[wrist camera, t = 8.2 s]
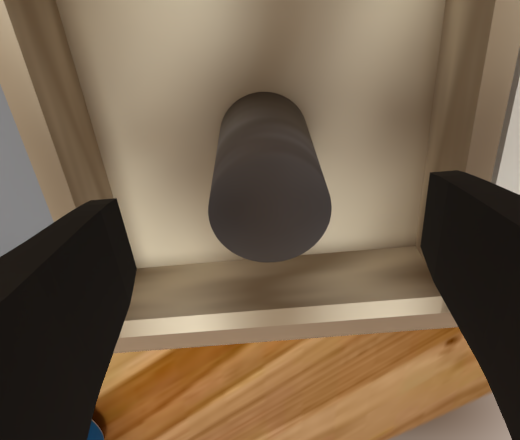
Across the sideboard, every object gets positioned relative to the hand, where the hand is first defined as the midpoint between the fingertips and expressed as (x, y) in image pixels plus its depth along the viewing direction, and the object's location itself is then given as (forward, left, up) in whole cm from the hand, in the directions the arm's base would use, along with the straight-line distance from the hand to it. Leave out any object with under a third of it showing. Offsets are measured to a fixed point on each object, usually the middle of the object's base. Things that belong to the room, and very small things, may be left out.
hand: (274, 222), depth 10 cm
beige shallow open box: (0, 0, -6) cm, 6 cm away
